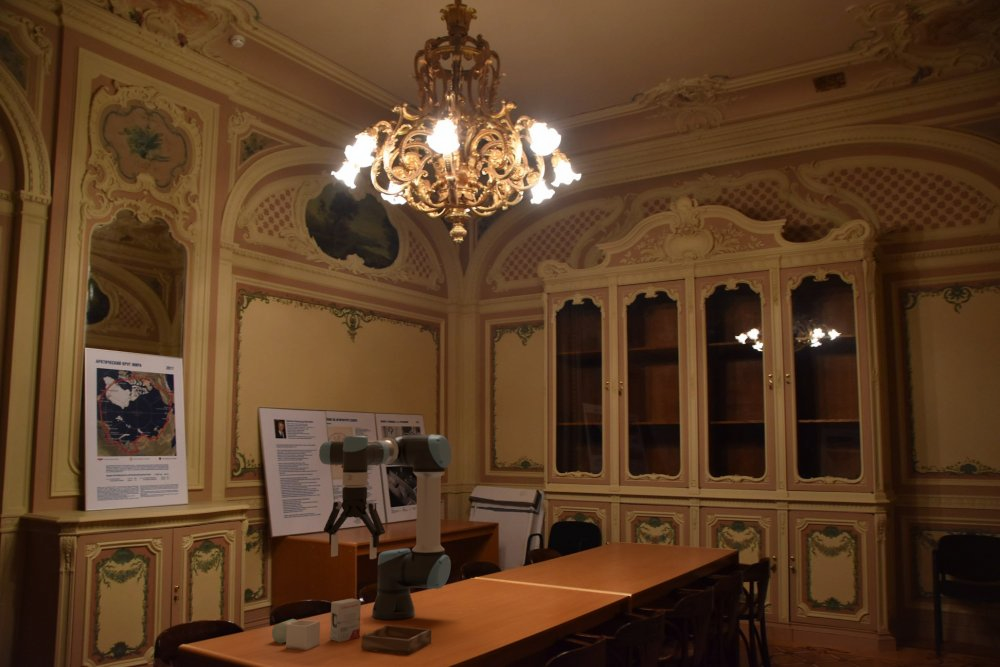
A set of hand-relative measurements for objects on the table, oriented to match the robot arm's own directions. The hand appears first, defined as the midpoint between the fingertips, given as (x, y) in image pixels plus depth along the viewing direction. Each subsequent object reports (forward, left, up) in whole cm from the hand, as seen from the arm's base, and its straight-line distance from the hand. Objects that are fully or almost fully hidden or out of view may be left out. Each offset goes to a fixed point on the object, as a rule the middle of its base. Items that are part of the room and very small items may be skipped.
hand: (353, 557), depth 251 cm
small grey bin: (-1, -18, -28) cm, 33 cm away
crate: (-12, +9, -28) cm, 32 cm away
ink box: (-14, -11, -28) cm, 34 cm away
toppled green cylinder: (-5, -27, -28) cm, 40 cm away
